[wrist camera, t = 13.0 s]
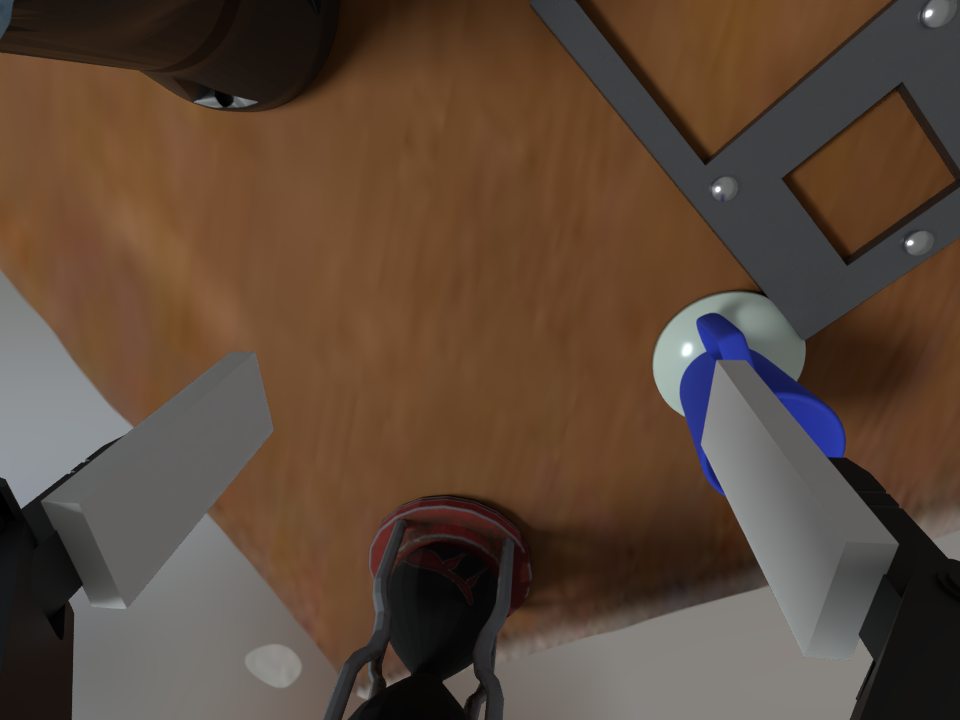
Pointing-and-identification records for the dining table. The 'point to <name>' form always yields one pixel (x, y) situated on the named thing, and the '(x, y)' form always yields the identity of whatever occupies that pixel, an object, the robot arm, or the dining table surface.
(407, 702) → the hourglass
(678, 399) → the pale grey rounded piece
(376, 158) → the dining table surface
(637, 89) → the gray cutout board
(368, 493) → the dining table surface
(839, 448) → the mug
